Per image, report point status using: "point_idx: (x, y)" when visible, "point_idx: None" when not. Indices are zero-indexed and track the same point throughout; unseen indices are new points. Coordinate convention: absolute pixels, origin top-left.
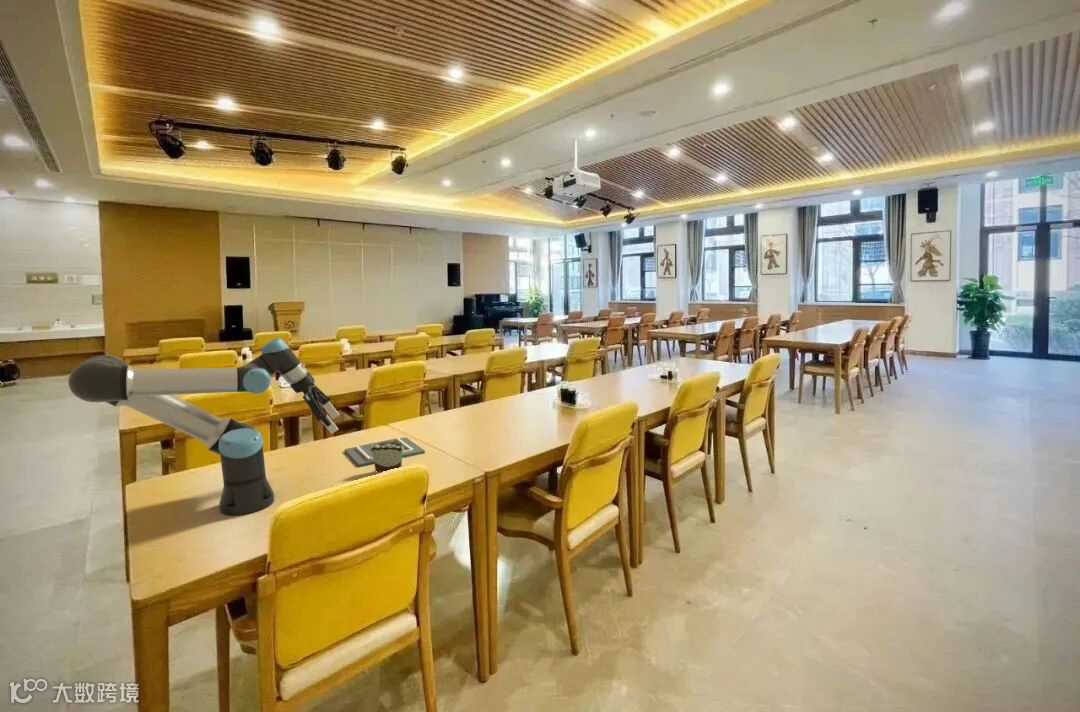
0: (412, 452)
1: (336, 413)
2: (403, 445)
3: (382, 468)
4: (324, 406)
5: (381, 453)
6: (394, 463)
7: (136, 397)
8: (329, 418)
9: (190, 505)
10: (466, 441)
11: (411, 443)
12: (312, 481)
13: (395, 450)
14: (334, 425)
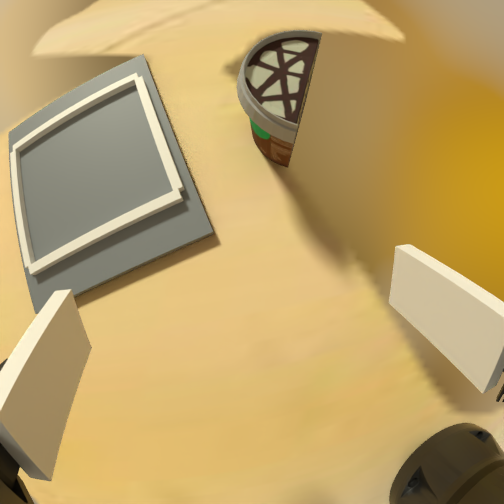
0: (145, 79)
1: (64, 315)
2: (73, 115)
3: (294, 139)
4: (46, 456)
5: (301, 108)
6: (306, 93)
7: None
8: (493, 298)
9: None
10: (105, 4)
11: (63, 101)
12: (328, 377)
13: (314, 58)
14: (440, 264)
